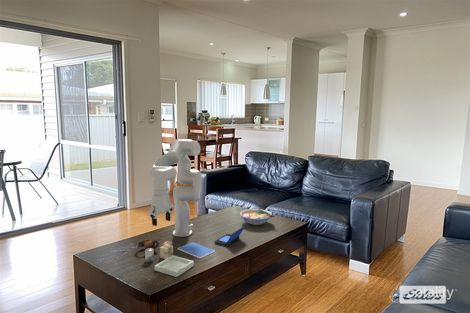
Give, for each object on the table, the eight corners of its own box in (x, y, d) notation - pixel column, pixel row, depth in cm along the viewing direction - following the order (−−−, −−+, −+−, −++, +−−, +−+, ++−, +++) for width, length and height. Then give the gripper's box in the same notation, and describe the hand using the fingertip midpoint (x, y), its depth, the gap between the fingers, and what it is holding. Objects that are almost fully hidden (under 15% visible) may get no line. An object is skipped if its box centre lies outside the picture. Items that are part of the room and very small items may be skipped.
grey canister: (149, 258, 181) (149, 247, 181) (155, 259, 179) (155, 249, 178) (143, 261, 178) (143, 250, 177) (149, 263, 175) (149, 252, 175)
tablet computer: (176, 249, 193) (176, 247, 193) (193, 243, 203) (193, 241, 203) (199, 259, 181) (199, 257, 181) (215, 252, 190) (215, 250, 190)
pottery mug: (139, 257, 183) (135, 243, 185) (141, 257, 192) (137, 244, 194) (161, 249, 187) (156, 235, 188) (161, 250, 195) (157, 236, 197)
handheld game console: (227, 235, 215) (227, 222, 214) (245, 240, 208) (245, 225, 207) (213, 244, 202) (213, 229, 200) (232, 248, 195) (232, 233, 194)
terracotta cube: (165, 247, 195) (165, 241, 194) (172, 248, 194) (172, 241, 194) (163, 250, 191) (163, 244, 191) (169, 251, 191) (169, 244, 190)
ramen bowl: (234, 220, 245) (234, 209, 244) (261, 216, 254) (262, 206, 253) (248, 231, 222) (248, 219, 221) (278, 227, 231) (278, 215, 230)
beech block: (166, 254, 186) (166, 244, 186) (173, 256, 184) (173, 245, 183) (160, 257, 182) (159, 247, 181) (167, 259, 180) (167, 249, 179)
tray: (172, 259, 180) (172, 255, 179) (193, 265, 173) (193, 260, 173) (154, 270, 168) (154, 265, 167) (176, 277, 161) (176, 272, 161)
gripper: (167, 188, 186) (168, 217, 189) (143, 194, 172) (144, 225, 175) (177, 190, 182) (177, 220, 184) (153, 196, 168) (153, 228, 170)
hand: (161, 222), depth 179 cm, fingers open, 9 cm apart
